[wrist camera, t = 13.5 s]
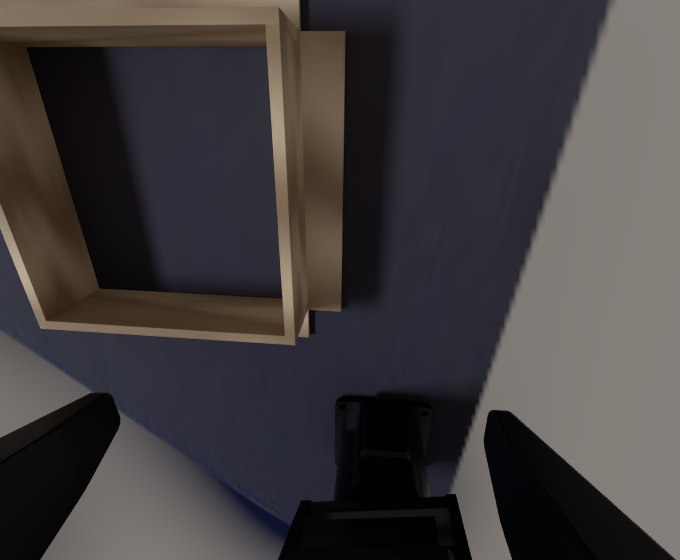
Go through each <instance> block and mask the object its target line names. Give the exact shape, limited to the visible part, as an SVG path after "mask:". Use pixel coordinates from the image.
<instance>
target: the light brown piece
mask: <svg viewBox="0 0 680 560" xmlns="http://www.w3.org/2000/svg"><path fill="white" fill-rule="evenodd" d="M188 46H267V59H268V75H269V91H270V106H271V122H272V138H273V154H274V170H275V186H276V202H277V217H278V233H279V249H280V265H281V281H282V297H283V299H281V298H263V297H244V296H226V295H208V294H189V293H171V292H153V291H134V290H116V289H99V285H98V282H97V279H96V276H95V272H94V269H93V266H92V262H91V259H90V256H89V252H88V249H87V246H86V243H85V239H84V236H83V233H82V229H81V226H80V223H79V220H78V216H77V213H76V210H75V206H74V203H73V200H72V196H71V193H70V190H69V187H68V183H67V180H66V177H65V173H64V170H63V167H62V163H61V160H60V157H59V154H58V150H57V147H56V144H55V140H54V137H53V134H52V131H51V127H50V124H49V121H48V117H47V114H46V111H45V107H44V104H43V101H42V98H41V94H40V91H39V88H38V84H37V81H36V78H35V75H34V71H33V68H32V65H31V61H30V58H29V55H28V51H27V48H26V47H188ZM344 97H345V31H301V17H300V0H0V229H1V231H2V234H3V236H4V239H5V241H6V244H7V246H8V249H9V251H10V254H11V256H12V259H13V261H14V264H15V266H16V269H17V271H18V274H19V276H20V279H21V281H22V284H23V286H24V289H25V291H26V294H27V296H28V299H29V301H30V303H31V306H32V308H33V311H34V313H35V316H36V318H37V321H38V323H39V326H40V328H41V329H56V330H71V331H86V332H102V333H117V334H132V335H148V336H163V337H178V338H194V339H209V340H224V341H240V342H255V343H270V344H286V345H295V344H296V341H297V339H298V337H309V335H310V332H309V310H323V311H341V293H342V228H343V163H344Z"/></svg>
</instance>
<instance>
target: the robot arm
mask: <svg viewBox="0 0 680 560" xmlns="http://www.w3.org/2000/svg"><path fill="white" fill-rule="evenodd" d="M341 404H344V406H343V405H341ZM422 411H426V412H422ZM432 415H433V413H432V408H431V406H430V405H429V404H425V403H413V402H400V401H387V400H374V399H361V398H348V397H340V398H338V399H337V400H336V406H335V465H336V466H337V474H336V483H335V492H334V501H322V502H311V500H304V501H301V502H300V505H299V508H298V510H297V513H296V515H295V517H294V519H293V522H292V524H291V527H290V530H289V532H288V535H287V538H286V540H285V543H284V546H283V548H282V551H281V553H280V556H279V559H278V560H472V558H471V554H470V550H469V546H468V541H467V538H466V534H465V529H464V525H463V522H462V517H461V513H460V510H459V505H458V501H457V497H456V494H446V496H441V497H431V496H430V489H429V482H428V475H427V468H426V461H425V458H426V452H427V445H428V439H429V433H430V427H431V421H432ZM119 425H120V415H119V413H118V410H117V407H116V405H115V402H114V399H113V397H112V395H110V394H109V393H98V392H95V393H90V394H88V395H86V396H84V397H82V398H80V399H78V400H76V401H74V402H72V403H70V404H68V405H66V406H64V407H62V408H60V409H58V410H56V411H54V412H51V413H50V414H47V415H46V416H43V417H41V418H39V419H37V420H36V421H34V422H31V423H29V424H27V425H25V426H23V427H21V428H19V429H17V430H15V431H13V432H11V433H9V434H8V435H6V436H3V437H1V438H0V560H40V559H41V558H42V556H43V555H44V553H45V552H46V550H47V548H48V547H49V545H50V544H51V542H52V541H53V539H54V538H55V536H56V535H57V533H58V532H59V530H60V529H61V527H62V525H63V524H64V522H65V521H66V519H67V518H68V516H69V515H70V513H71V512H72V510H73V508H74V507H75V505H76V504H77V502H78V501H79V499H80V498H81V496H82V494H83V493H84V491H85V489H86V488H87V486H88V484H89V482H90V480H91V479H92V476H93V475H94V473H95V471H96V469H97V467H98V466H99V464H100V462H101V460H102V458H103V457H104V455H105V453H106V451H107V449H108V447H109V445H110V443H111V442H112V440H113V438H114V436H115V434H116V432H117V430H118V428H119ZM484 448H485V453H486V458H487V462H488V467H489V471H490V476H491V481H492V485H493V491H494V495H495V500H496V505H497V509H498V514H499V518H500V522H501V525H502V529H503V532H504V535H505V539H506V542H507V545H508V548H509V551H510V554H511V557H512V560H676V559H674V558H673V557H672V556H671V555H670V554H669V553H668V552H667V551H666V550H665V549H664V548H662V547H661V546H660V545H659V544H658V543H657V542H656V541H654V540H653V539H652V538H651V537H650V536H649V535H648V534H647V533H646V532H644V531H643V530H642V529H641V528H640V527H639V526H638V525H637V524H636V523H634V522H633V521H632V520H631V519H630V518H629V517H628V516H627V515H625V514H624V513H623V512H622V511H621V510H620V509H618V507H617V506H615V505H614V504H613V503H612V502H611V501H610V500H609V499H608V498H606V497H605V496H604V495H603V494H602V493H601V492H600V491H598V490H597V489H596V488H595V487H594V486H593V485H592V484H591V483H590V482H588V481H587V480H586V479H585V478H584V477H583V476H582V475H581V474H579V473H578V472H577V471H576V470H575V469H574V468H573V467H572V466H571V465H569V464H568V463H567V462H566V461H565V460H564V459H563V458H562V457H561V456H559V455H558V454H557V453H556V452H555V451H554V450H553V449H552V448H550V447H549V446H548V445H547V444H546V443H545V442H544V441H542V440H541V439H540V438H539V437H538V436H537V435H536V434H535V433H534V432H533V431H531V430H530V429H529V428H528V427H527V426H526V425H525V424H524V423H522V422H521V421H520V420H519V419H518V418H517V417H516V416H515V415H513V414H512V413H511V412H509V411H502V410H491V411H490V412H489V414H488V417H487V423H486V429H485V434H484Z"/></svg>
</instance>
